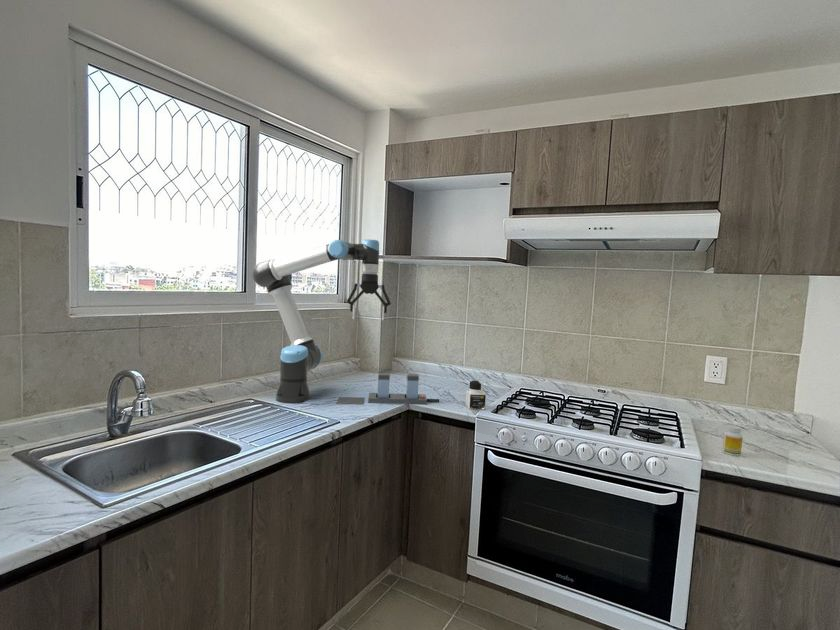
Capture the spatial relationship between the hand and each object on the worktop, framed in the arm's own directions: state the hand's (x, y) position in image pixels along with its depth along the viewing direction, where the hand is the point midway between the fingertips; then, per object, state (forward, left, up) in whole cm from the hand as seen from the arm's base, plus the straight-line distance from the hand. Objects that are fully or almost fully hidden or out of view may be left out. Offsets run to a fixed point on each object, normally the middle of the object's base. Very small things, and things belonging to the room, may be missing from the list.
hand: (368, 319), depth 208 cm
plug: (+8, -8, -36) cm, 38 cm away
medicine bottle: (+50, -12, -37) cm, 63 cm away
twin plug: (+21, -8, -36) cm, 42 cm away
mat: (-6, -8, -37) cm, 38 cm away
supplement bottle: (+132, -62, -37) cm, 150 cm away
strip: (+18, -8, -37) cm, 42 cm away
